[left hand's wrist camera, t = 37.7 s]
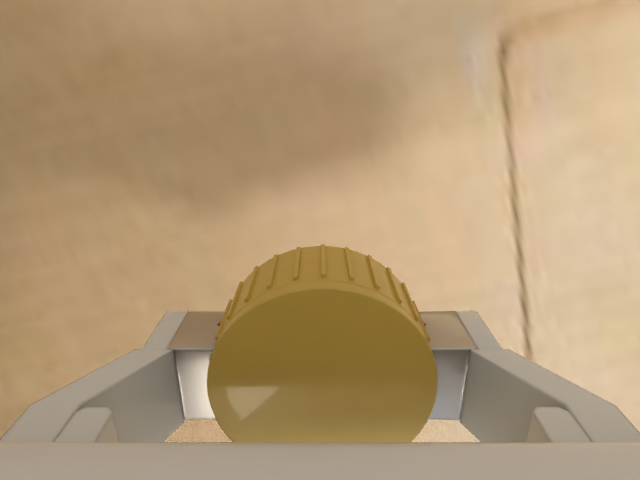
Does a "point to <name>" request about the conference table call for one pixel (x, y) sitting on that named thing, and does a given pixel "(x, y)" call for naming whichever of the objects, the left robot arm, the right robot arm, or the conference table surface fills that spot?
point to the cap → (322, 353)
